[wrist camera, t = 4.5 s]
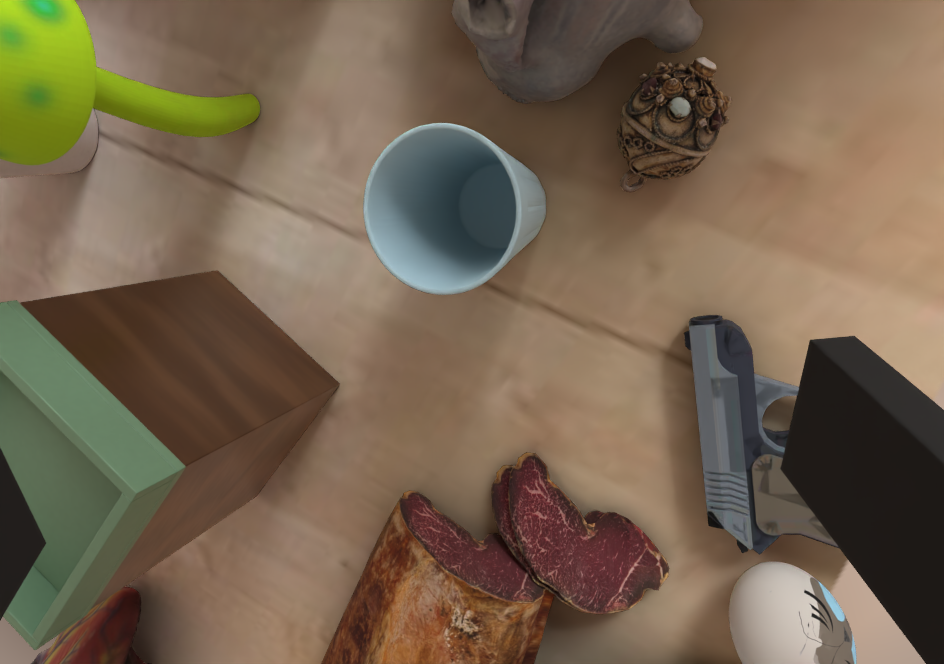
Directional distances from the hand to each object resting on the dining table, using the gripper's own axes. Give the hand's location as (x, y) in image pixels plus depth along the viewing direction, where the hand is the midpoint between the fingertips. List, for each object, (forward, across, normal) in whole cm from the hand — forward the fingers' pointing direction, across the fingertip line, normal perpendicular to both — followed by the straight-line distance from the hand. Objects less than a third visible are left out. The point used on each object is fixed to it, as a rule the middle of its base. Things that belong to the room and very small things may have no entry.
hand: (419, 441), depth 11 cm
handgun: (+16, +26, -15) cm, 34 cm away
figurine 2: (+10, +17, -25) cm, 32 cm away
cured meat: (+22, +2, -32) cm, 39 cm away
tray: (+20, -20, -15) cm, 32 cm away
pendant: (+26, +16, -2) cm, 30 cm away
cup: (+30, +5, -6) cm, 31 cm away
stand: (+34, -14, -20) cm, 41 cm away
